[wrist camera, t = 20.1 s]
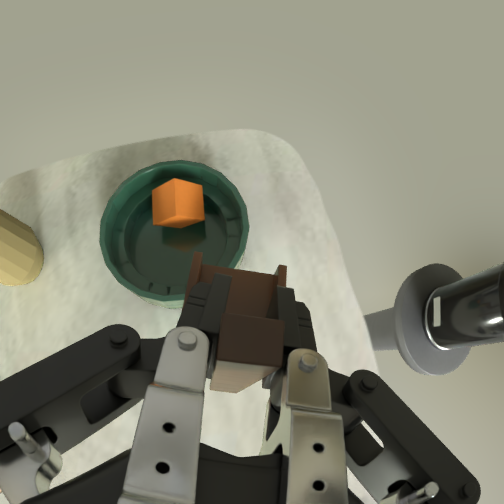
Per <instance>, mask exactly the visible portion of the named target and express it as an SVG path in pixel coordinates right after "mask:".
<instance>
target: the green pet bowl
mask: <svg viewBox="0 0 504 504" xmlns="http://www.w3.org/2000/svg"><path fill="white" fill-rule="evenodd" d="M173 178H176V179H180V180H184V181H188V182H192V183H195V184H199V185H202V189H203V203H204V215H205V220H204V221H201V222H198V223H195V224H192V225H189V226H186V227H183V228H174V227H165V226H156V225H153V208H152V190H154V189H155V188H157V187H159V186H161V185H162V184H164V183H166V182H168V181H170V180H172V179H173ZM248 232H249V222H248V215H247V208H246V205H245V203H244V201H243V199H242V197H241V195H240V193H239V191H238V190H237V188H236V186H234V185H233V184H232V183H231V182H230V181H229V180H228V179H227V178H226V177H225V176H224V175H223V174H222V173H220V172H219V171H217V170H214V169H212V168H210V167H208V166H206V165H204V164H202V163H196V162H190V161H184V160H176V161H167V162H159V163H157V164H154V165H151V166H149V167H146V168H144V169H141V170H139V171H138V172H136V173H135V174H133V175H132V176H131V177H129V178H128V179H127V180H125V181H124V182H123V183H122V184H121V185H120V186H119V188H118V189H117V190H116V191H115V193H114V194H113V195H112V197H111V198H110V199H109V201H108V203H107V206H106V208H105V211H104V213H103V216H102V219H101V224H100V241H99V242H100V247H101V250H102V254H103V257H104V261H105V264H106V266H107V267H108V268H109V270H110V271H111V273H112V274H113V275H114V277H115V278H116V280H117V281H118V282H119V283H120V284H122V285H123V286H124V287H126V288H127V289H128V290H130V291H131V292H133V293H134V294H136V295H137V296H139V297H140V298H142V299H143V300H145V301H146V302H148V303H150V304H153V305H157V306H161V307H165V308H169V309H176V308H183V303H184V298H185V293H186V288H187V283H188V278H189V273H190V269H191V264H192V260H193V255H194V252H195V251H196V252H202V253H203V261H202V264H207V265H213V266H219V267H226V268H232V269H239V267H240V265H241V262H242V258H243V255H244V252H245V247H246V242H247V237H248Z"/></svg>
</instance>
